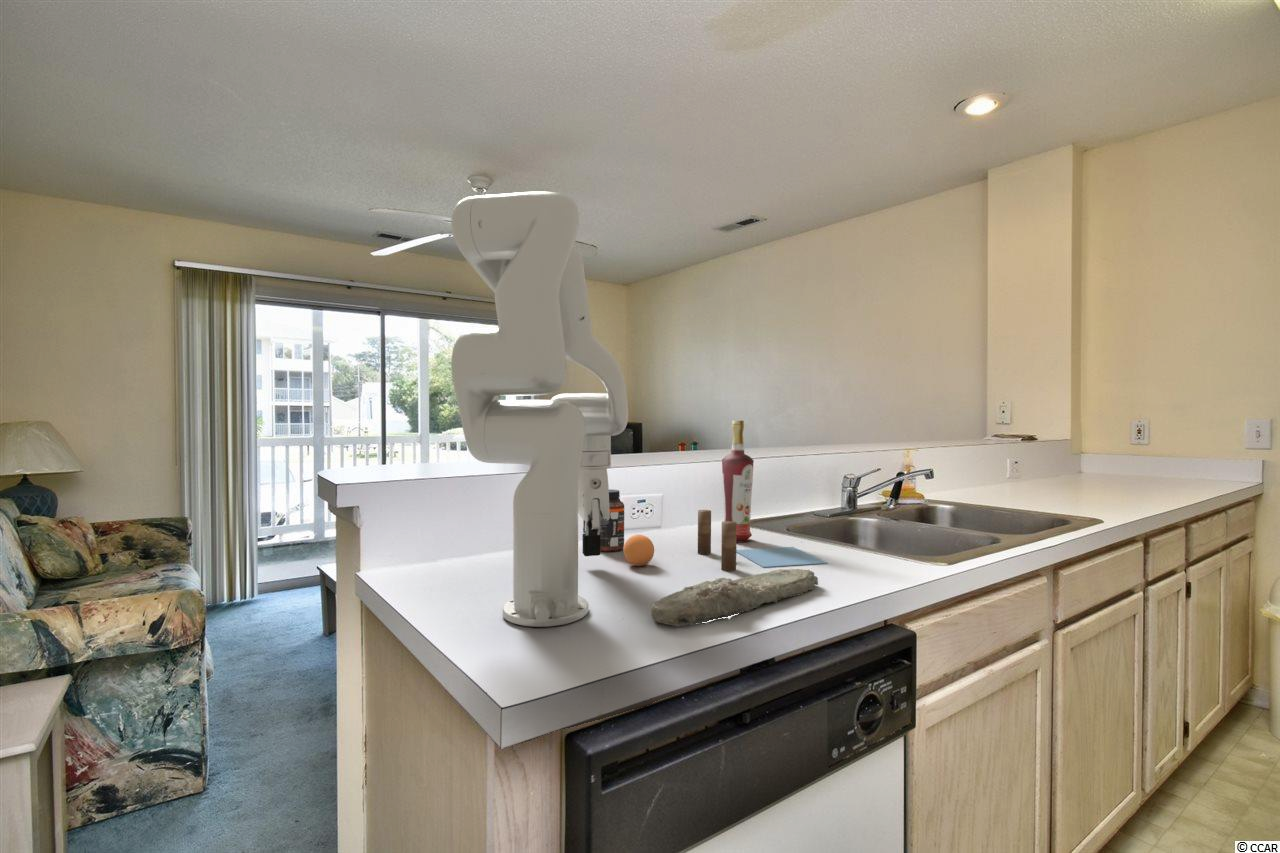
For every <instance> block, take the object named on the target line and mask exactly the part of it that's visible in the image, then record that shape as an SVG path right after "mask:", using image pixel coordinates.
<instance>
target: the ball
mask: <svg viewBox="0 0 1280 853" xmlns="http://www.w3.org/2000/svg"><path fill="white" fill-rule="evenodd" d="M623 555H624V558H625V560H626V561H627V563H628V564H631V565H632V566H636V567H641V566H645V565H647V564H649V563H650V562H651V561H652V559H653V558H654V555H655V546H654V543H653V541H652V540H651V539H650V538H649V537H648V536H646V535H644V534H634V535H632V536H629V538H628V539H627V540H626V541H625V542H624V548H623Z"/></svg>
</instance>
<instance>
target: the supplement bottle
mask: <svg viewBox="0 0 1280 853" xmlns="http://www.w3.org/2000/svg"><path fill="white" fill-rule="evenodd" d="M620 493H621V492H620V490H618V489H610V488H609V510H610V519H609V520H608V521H605V520H604V519H603V517H602V516H601V515H600V552H607V553H608V552H610V553H611V552H618V551H621V550H624V545H625V504H624V502H623V501H621V499H620V497H621V496H620Z"/></svg>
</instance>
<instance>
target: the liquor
mask: <svg viewBox="0 0 1280 853" xmlns="http://www.w3.org/2000/svg"><path fill="white" fill-rule="evenodd" d="M731 424H732V427H731V428H732V433H733V436H732V443H731V444H732V445H731V453H729V454H727V455H726V456H724V457H723V458H722V459H721V466H722V468H721V471H722V491H723V492H722V493H723V494H722V495H723V496H722V497H723V521H733V522H736V523H737V532H736V543H745V542H747V541H748V540H749V539H750V538H751V537H752V536H753V535H752V532H751V512H752V510H751V509H752V494H753V483H754V482H753V481H754V480H753V479H754V459H753V458H752V457H751V456H750V455H747V454H745V448H744V429H745V420H732V422H731Z"/></svg>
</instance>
